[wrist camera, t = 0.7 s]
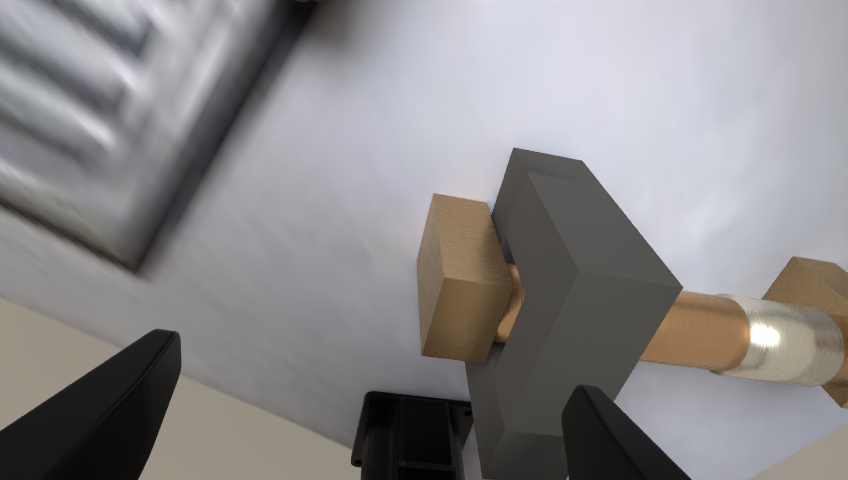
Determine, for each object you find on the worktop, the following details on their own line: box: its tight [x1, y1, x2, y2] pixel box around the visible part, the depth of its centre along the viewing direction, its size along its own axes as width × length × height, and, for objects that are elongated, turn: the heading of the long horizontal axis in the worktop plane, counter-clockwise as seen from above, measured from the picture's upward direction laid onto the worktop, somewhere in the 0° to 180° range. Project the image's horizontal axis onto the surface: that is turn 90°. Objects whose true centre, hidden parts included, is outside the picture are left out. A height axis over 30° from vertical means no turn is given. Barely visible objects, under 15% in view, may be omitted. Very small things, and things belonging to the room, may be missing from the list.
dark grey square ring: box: [465, 148, 683, 480], centre depth 19 cm, size 3×9×9 cm, turn 168°
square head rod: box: [417, 194, 848, 409], centre depth 21 cm, size 20×4×6 cm, turn 78°
